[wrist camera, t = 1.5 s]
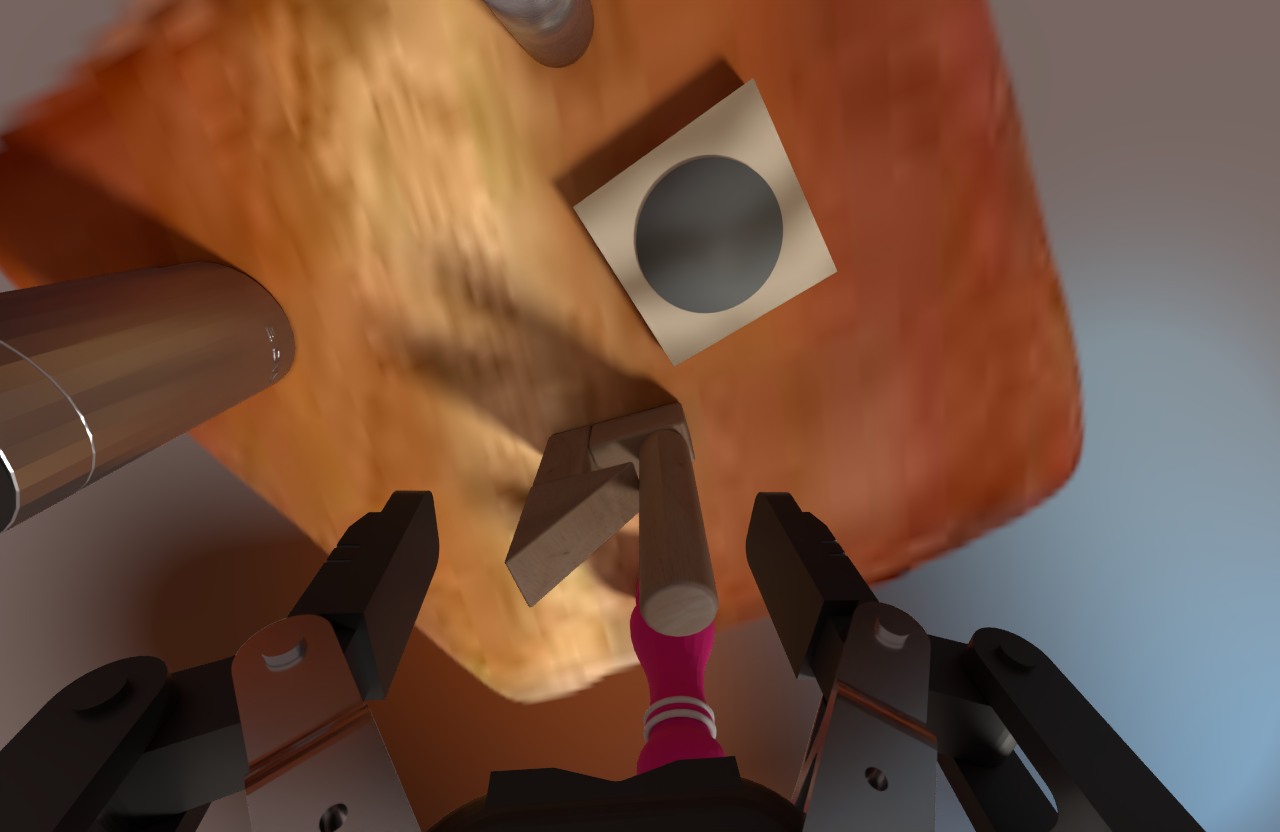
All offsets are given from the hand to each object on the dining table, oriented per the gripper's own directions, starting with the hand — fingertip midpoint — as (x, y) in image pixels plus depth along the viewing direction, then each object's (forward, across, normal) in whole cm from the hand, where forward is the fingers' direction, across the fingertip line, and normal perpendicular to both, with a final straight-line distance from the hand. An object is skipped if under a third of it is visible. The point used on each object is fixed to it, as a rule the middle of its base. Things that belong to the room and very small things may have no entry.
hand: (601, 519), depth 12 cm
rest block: (+23, +7, +5) cm, 25 cm away
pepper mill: (+23, +8, -26) cm, 36 cm away
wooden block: (+24, +3, -10) cm, 26 cm away
